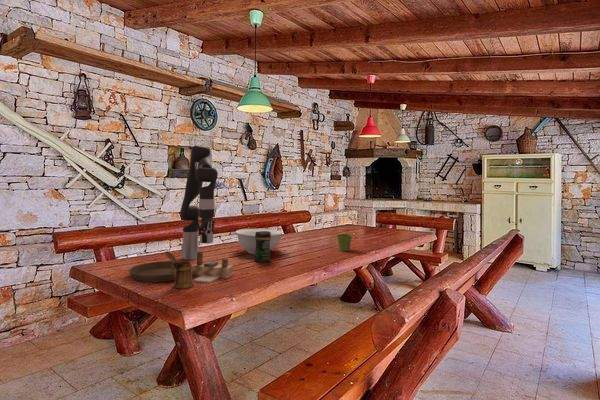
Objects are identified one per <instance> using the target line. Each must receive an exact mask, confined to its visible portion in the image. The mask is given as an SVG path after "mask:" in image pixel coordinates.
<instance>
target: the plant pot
mask: <svg viewBox="0 0 600 400" xmlns="http://www.w3.org/2000/svg"><path fill="white" fill-rule="evenodd" d="M335 236H336V238H337V242H338V250H339V251H340V252H350V249H351V243H352V239H353V236H354V235H352V234H347V233H341V234H338V233H337V234H336V235H335Z"/></svg>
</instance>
